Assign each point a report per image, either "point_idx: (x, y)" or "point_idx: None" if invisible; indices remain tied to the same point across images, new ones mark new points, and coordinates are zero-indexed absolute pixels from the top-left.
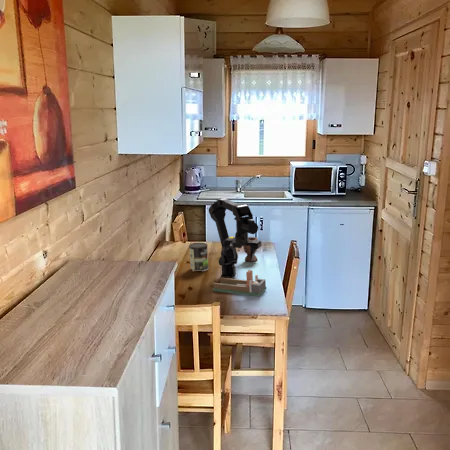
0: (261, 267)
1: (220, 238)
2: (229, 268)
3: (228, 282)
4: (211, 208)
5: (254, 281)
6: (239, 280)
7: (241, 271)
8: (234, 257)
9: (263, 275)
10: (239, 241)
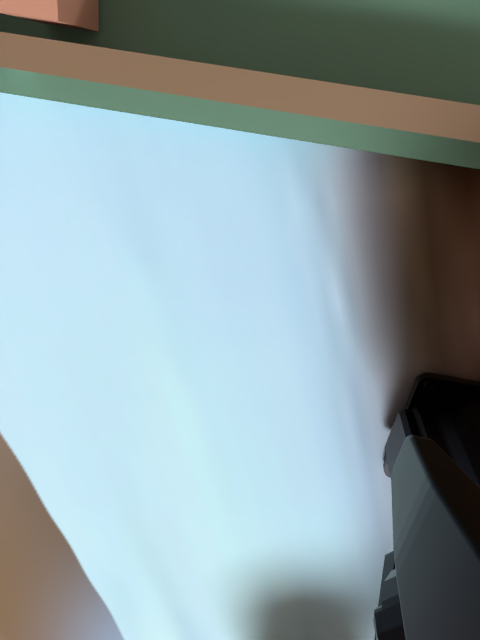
0: (189, 587)
1: None
2: (472, 462)
3: (439, 98)
4: None
5: (12, 55)
6: (254, 72)
7: (339, 518)
8: (414, 459)
9: (113, 438)
10: None
